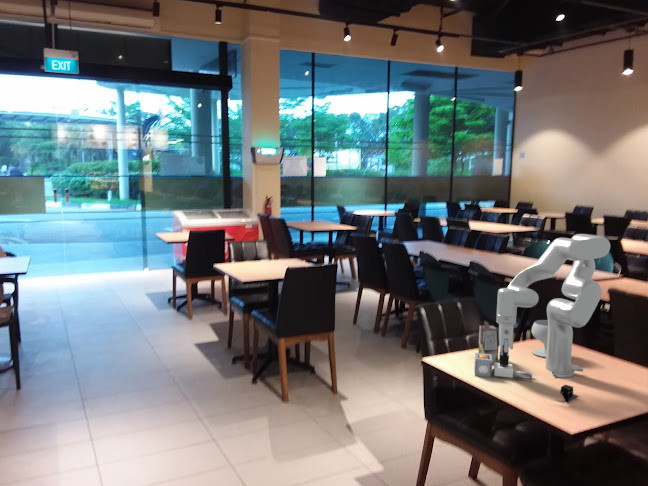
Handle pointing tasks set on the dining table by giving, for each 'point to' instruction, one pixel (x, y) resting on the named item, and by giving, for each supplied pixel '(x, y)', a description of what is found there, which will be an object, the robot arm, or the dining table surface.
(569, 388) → the black slotted bracket
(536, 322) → the chalice
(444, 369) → the dining table surface
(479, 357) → the button
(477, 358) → the grey open box
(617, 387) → the dining table surface
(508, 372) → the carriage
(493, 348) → the coffee box
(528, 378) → the rail board
